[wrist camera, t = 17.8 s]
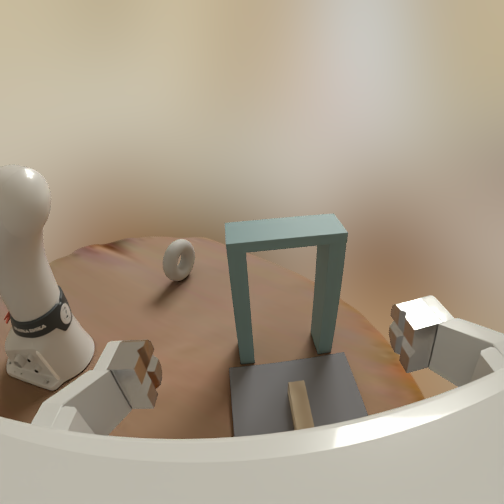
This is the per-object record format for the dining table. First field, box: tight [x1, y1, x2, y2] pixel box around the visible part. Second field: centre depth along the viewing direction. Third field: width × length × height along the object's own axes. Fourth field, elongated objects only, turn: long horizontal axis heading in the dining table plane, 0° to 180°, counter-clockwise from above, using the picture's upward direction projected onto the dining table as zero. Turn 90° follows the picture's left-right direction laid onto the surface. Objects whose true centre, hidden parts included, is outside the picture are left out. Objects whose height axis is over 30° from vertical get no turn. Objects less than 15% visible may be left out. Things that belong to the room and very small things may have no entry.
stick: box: [288, 380, 314, 430], centre depth 37 cm, size 2×19×3 cm, turn 4°
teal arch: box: [225, 214, 348, 364], centre depth 49 cm, size 16×6×24 cm, turn 95°
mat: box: [229, 352, 368, 437], centre depth 41 cm, size 20×25×1 cm
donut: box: [163, 239, 195, 281], centre depth 73 cm, size 10×4×10 cm, turn 152°
